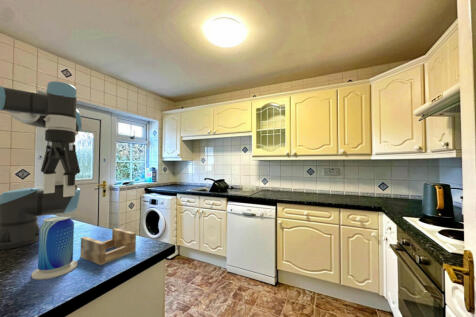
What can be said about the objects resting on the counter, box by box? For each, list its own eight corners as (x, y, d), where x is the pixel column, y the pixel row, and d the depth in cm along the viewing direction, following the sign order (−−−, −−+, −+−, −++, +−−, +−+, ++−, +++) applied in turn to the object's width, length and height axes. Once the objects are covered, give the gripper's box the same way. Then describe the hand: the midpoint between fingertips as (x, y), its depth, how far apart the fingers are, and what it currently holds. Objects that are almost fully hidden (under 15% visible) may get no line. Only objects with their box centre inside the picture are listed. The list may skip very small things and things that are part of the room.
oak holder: (80, 257, 74) (81, 237, 74) (115, 244, 86) (115, 228, 86) (100, 265, 68) (101, 244, 68) (135, 250, 80) (135, 233, 80)
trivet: (25, 273, 63) (25, 271, 63) (67, 259, 72) (67, 257, 72) (40, 283, 58) (40, 281, 58) (84, 266, 67) (84, 264, 67)
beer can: (51, 276, 60) (53, 222, 61) (30, 273, 62) (32, 220, 62) (79, 263, 68) (80, 215, 69) (59, 260, 70) (61, 214, 71)
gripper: (29, 131, 69) (27, 193, 68) (65, 125, 57) (63, 199, 57) (57, 134, 76) (55, 190, 75) (94, 129, 64) (92, 196, 64)
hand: (58, 194), depth 66 cm, fingers open, 13 cm apart
